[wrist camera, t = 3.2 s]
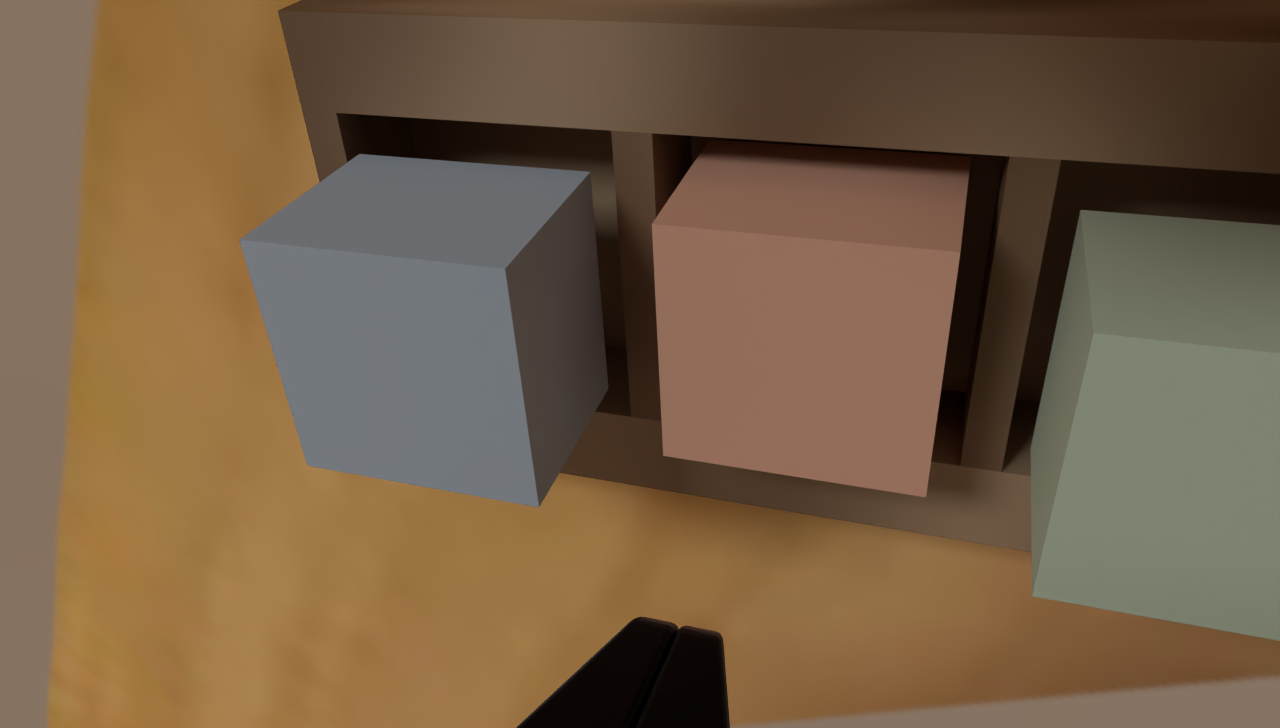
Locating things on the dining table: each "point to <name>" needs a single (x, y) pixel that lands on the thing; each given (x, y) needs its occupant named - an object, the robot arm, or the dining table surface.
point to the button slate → (437, 321)
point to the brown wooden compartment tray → (827, 117)
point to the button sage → (1163, 425)
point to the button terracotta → (808, 309)
